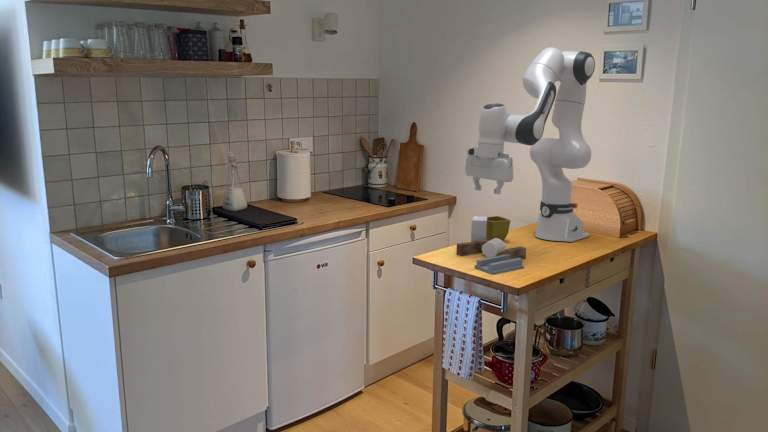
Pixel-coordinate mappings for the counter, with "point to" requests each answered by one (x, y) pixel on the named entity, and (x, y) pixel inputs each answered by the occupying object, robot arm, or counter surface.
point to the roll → (493, 247)
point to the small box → (478, 228)
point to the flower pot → (497, 227)
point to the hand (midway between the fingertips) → (487, 192)
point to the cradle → (499, 264)
